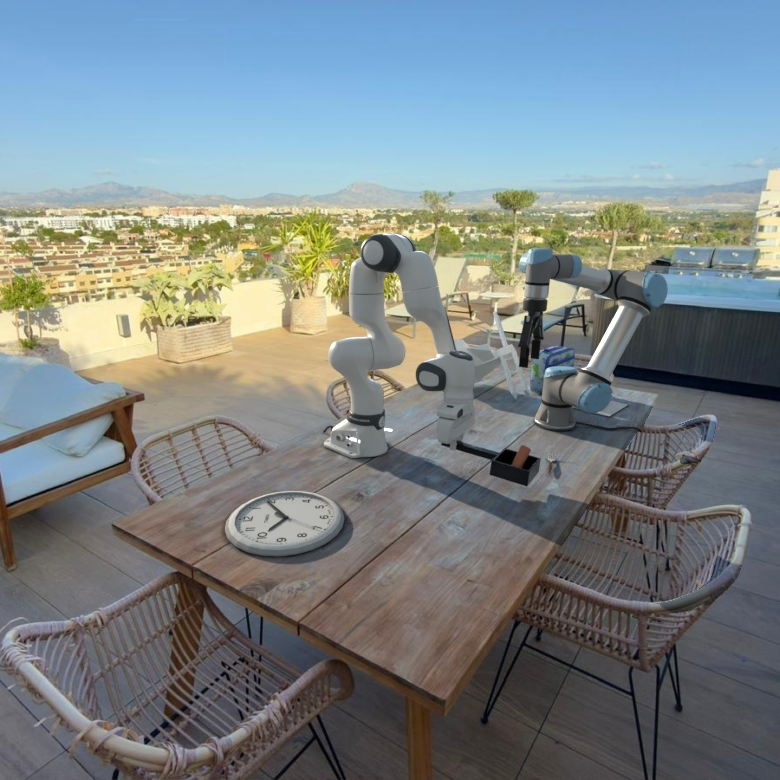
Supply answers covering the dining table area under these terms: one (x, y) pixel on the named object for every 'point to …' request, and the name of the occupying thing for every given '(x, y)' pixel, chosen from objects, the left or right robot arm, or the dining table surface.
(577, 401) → the right robot arm
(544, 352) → the lunch box
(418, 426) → the dining table surface
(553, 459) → the fork
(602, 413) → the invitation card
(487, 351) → the white plastic object
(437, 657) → the dining table surface
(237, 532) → the wall clock
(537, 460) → the pan
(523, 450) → the peg
